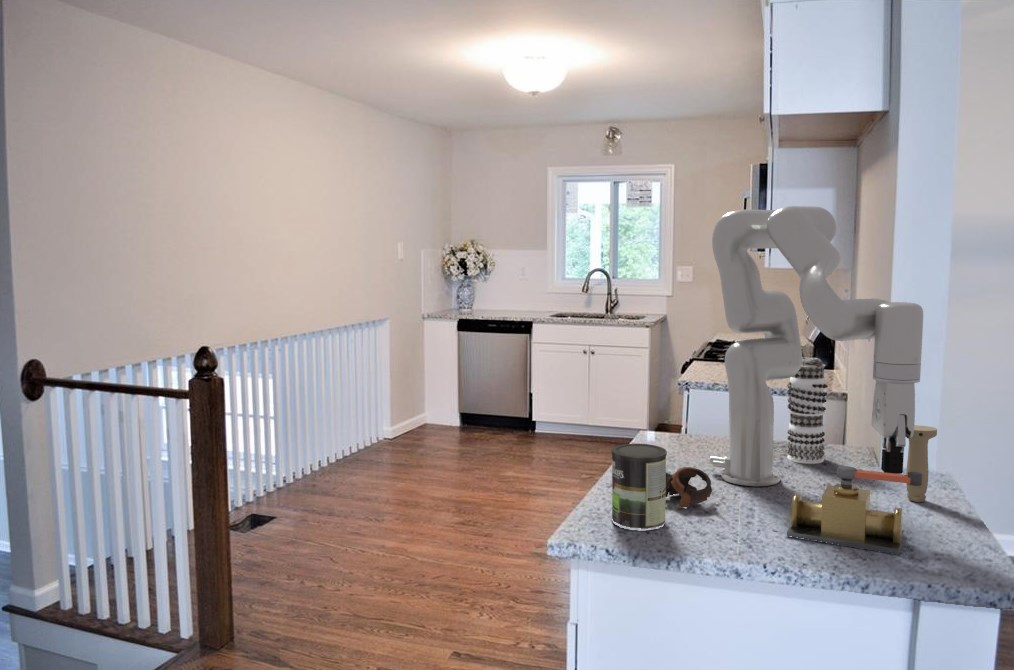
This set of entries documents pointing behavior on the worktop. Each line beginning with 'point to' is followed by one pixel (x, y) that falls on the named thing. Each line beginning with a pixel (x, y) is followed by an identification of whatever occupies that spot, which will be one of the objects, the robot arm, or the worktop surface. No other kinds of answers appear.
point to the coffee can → (638, 485)
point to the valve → (846, 520)
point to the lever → (879, 475)
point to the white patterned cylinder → (807, 412)
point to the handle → (919, 460)
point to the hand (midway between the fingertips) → (891, 471)
